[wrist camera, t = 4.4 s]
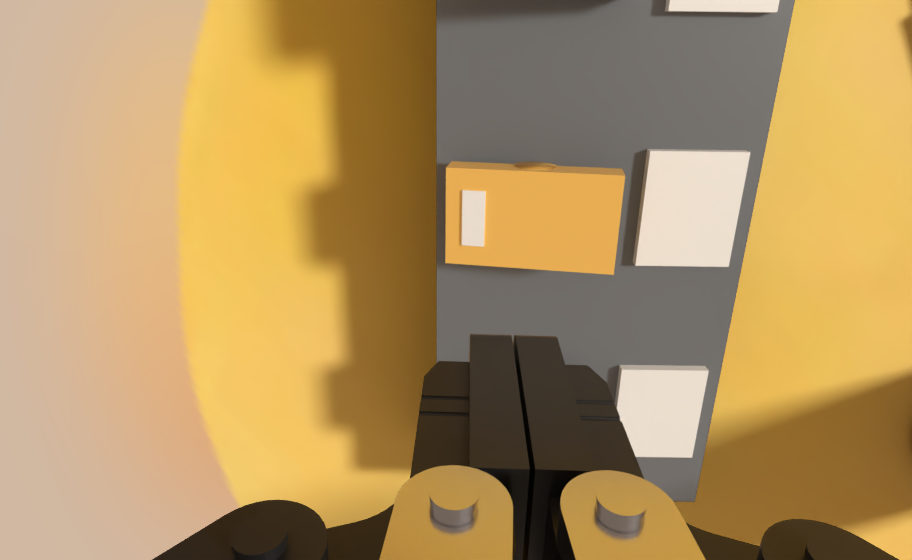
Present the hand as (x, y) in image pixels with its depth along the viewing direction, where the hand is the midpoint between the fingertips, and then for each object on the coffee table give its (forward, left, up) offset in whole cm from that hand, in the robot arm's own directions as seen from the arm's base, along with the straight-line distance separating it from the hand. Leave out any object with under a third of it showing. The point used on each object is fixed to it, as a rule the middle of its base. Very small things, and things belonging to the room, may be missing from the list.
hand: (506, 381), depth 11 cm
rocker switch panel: (-4, 0, -17) cm, 18 cm away
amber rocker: (-2, 0, -12) cm, 12 cm away
